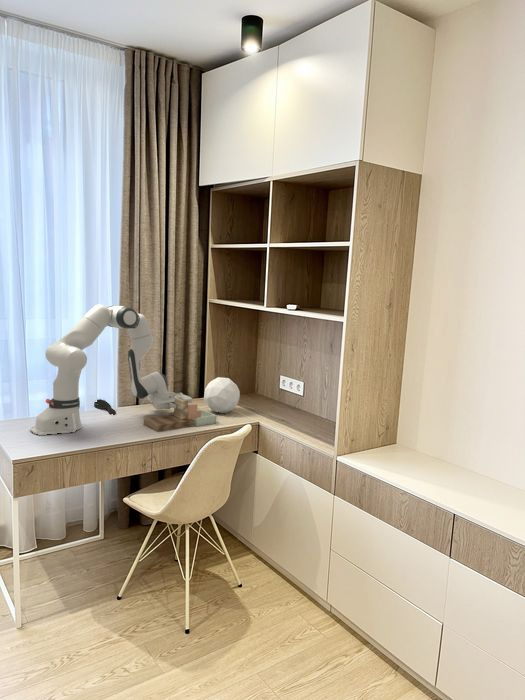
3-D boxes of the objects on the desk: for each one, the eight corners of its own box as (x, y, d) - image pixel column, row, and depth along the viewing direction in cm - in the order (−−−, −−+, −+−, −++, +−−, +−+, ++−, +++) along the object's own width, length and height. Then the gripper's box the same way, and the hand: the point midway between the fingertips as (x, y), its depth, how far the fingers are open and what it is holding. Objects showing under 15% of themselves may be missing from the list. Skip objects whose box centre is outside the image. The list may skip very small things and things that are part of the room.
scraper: (182, 419, 263) (182, 401, 262) (173, 415, 269) (174, 397, 268) (187, 418, 265) (188, 400, 263) (179, 414, 271) (179, 397, 270)
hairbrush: (106, 411, 274) (91, 398, 294) (106, 418, 274) (91, 404, 294) (122, 409, 278) (106, 397, 298) (122, 416, 279) (106, 403, 299)
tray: (195, 426, 263) (196, 418, 263) (178, 418, 276) (178, 410, 276) (216, 423, 271) (216, 415, 270) (197, 415, 284) (198, 407, 283)
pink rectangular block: (188, 411, 269) (201, 410, 273) (185, 410, 272) (197, 408, 276) (188, 421, 270) (200, 419, 274) (184, 419, 273) (197, 418, 277)
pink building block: (188, 419, 264) (188, 405, 263) (184, 417, 267) (184, 403, 266) (196, 417, 267) (197, 404, 266) (192, 416, 270) (193, 402, 269)
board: (157, 431, 251) (157, 425, 251) (143, 424, 262) (143, 418, 262) (193, 425, 264) (193, 419, 264) (179, 419, 275) (179, 413, 274)
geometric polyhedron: (213, 425, 290) (191, 397, 284) (224, 405, 307) (204, 377, 301) (241, 413, 281) (219, 384, 276) (250, 393, 298) (230, 365, 293)
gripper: (148, 396, 270) (162, 402, 259) (183, 392, 283) (198, 397, 272) (148, 408, 271) (161, 415, 260) (183, 403, 284) (197, 409, 273)
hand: (180, 406), depth 266 cm, fingers closed on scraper, 3 cm apart
